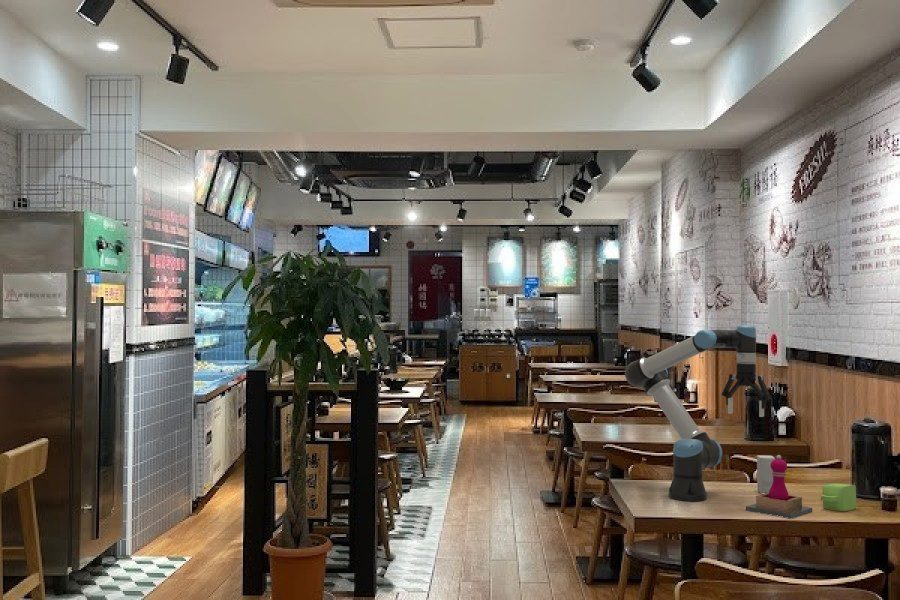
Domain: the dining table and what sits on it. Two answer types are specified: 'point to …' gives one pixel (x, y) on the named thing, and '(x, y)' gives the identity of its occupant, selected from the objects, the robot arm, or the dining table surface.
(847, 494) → the green bread box
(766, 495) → the plate
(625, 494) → the dining table surface
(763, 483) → the skincare box
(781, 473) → the pepper mill
